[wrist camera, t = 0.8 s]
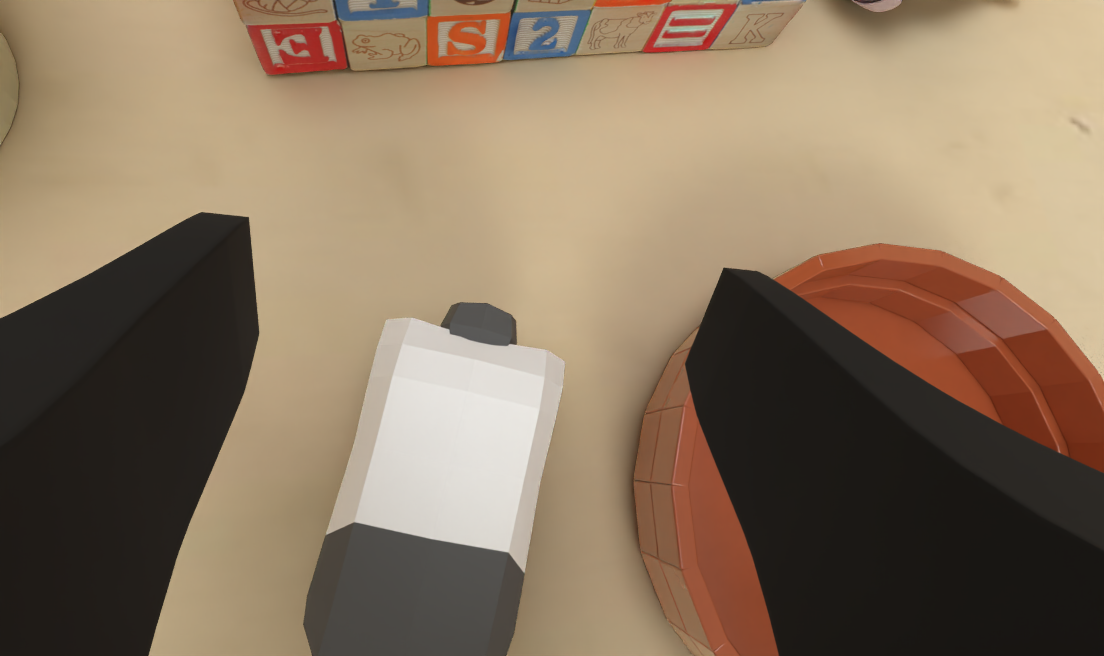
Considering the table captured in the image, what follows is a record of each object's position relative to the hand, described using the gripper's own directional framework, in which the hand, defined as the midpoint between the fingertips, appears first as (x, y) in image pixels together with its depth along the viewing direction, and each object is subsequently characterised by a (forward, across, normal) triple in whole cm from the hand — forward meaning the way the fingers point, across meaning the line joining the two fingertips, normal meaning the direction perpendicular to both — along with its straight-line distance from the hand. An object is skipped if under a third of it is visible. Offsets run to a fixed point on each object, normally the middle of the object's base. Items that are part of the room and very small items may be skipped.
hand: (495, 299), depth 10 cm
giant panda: (+6, 0, +14) cm, 15 cm away
